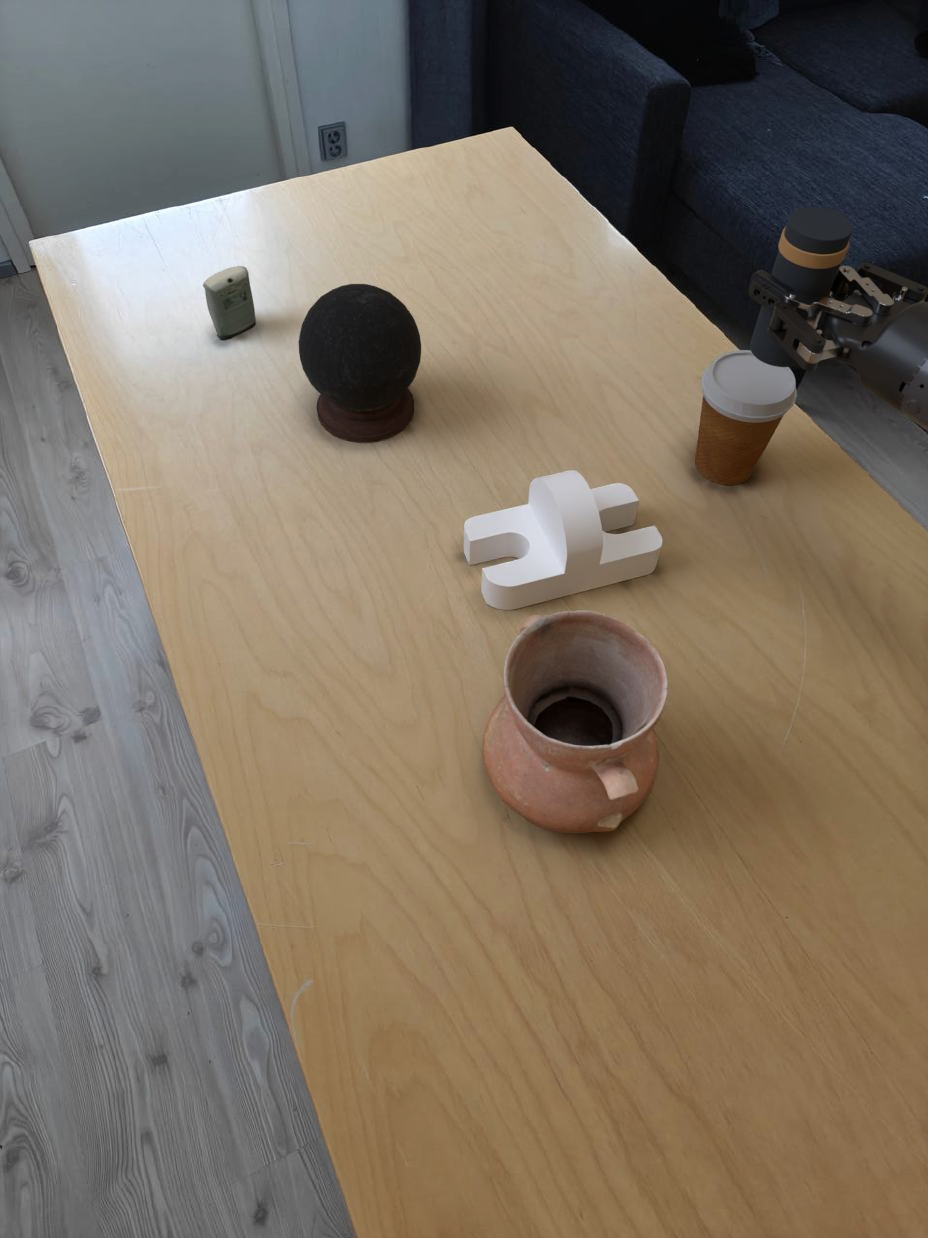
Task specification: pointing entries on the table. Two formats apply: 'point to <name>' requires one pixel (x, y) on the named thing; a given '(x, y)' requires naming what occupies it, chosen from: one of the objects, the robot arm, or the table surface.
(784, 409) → the disposable coffee cup
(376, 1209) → the table surface
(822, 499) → the table surface
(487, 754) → the ceramic jug
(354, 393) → the ball on stand
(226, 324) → the grey rounded block
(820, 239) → the dark cylindrical canister
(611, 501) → the u-slot mount
